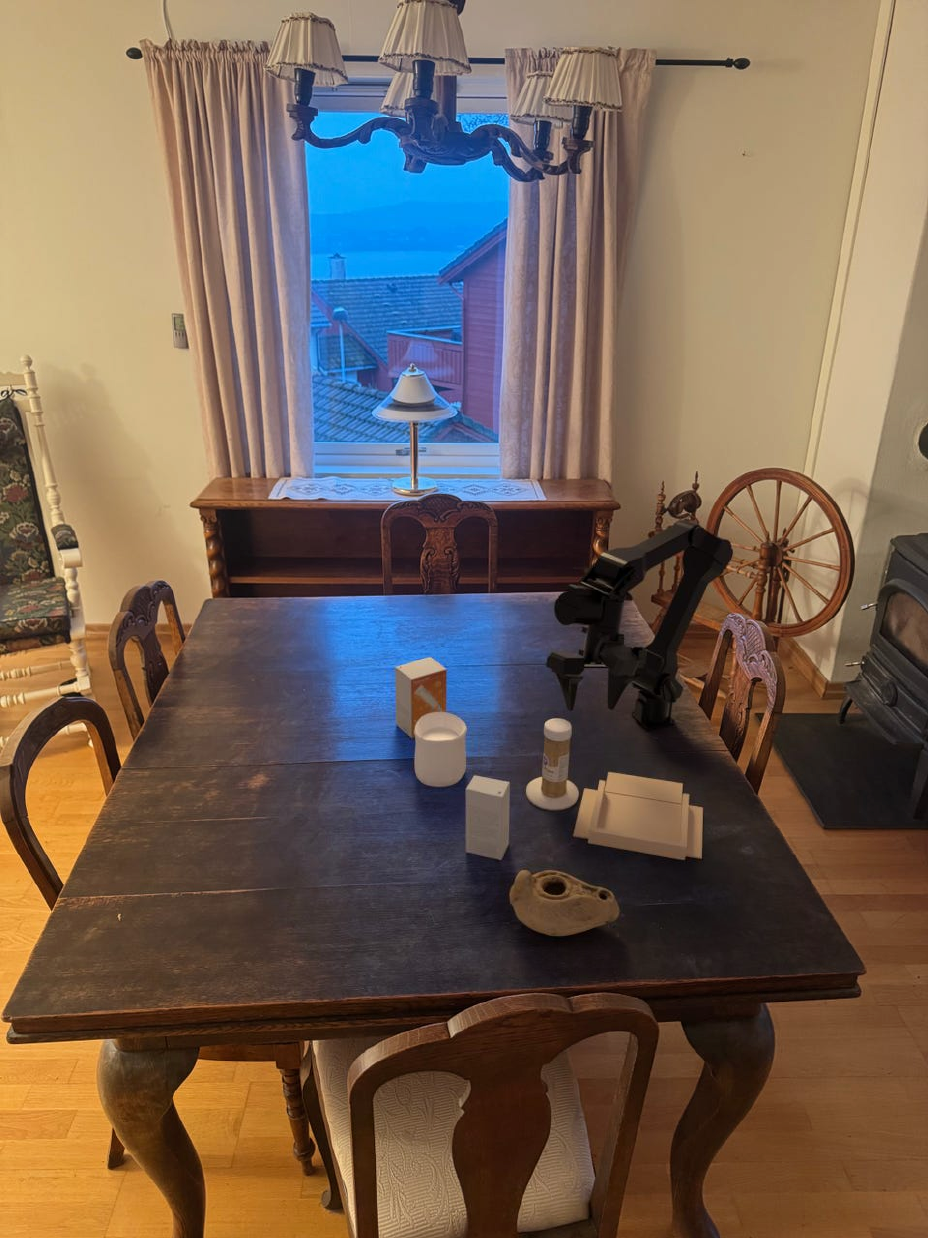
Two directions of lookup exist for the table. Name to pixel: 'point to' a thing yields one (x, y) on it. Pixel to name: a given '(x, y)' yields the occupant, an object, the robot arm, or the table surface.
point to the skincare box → (487, 817)
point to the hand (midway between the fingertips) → (590, 710)
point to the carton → (641, 817)
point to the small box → (419, 692)
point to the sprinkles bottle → (556, 757)
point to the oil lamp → (560, 903)
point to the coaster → (547, 802)
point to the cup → (440, 749)
